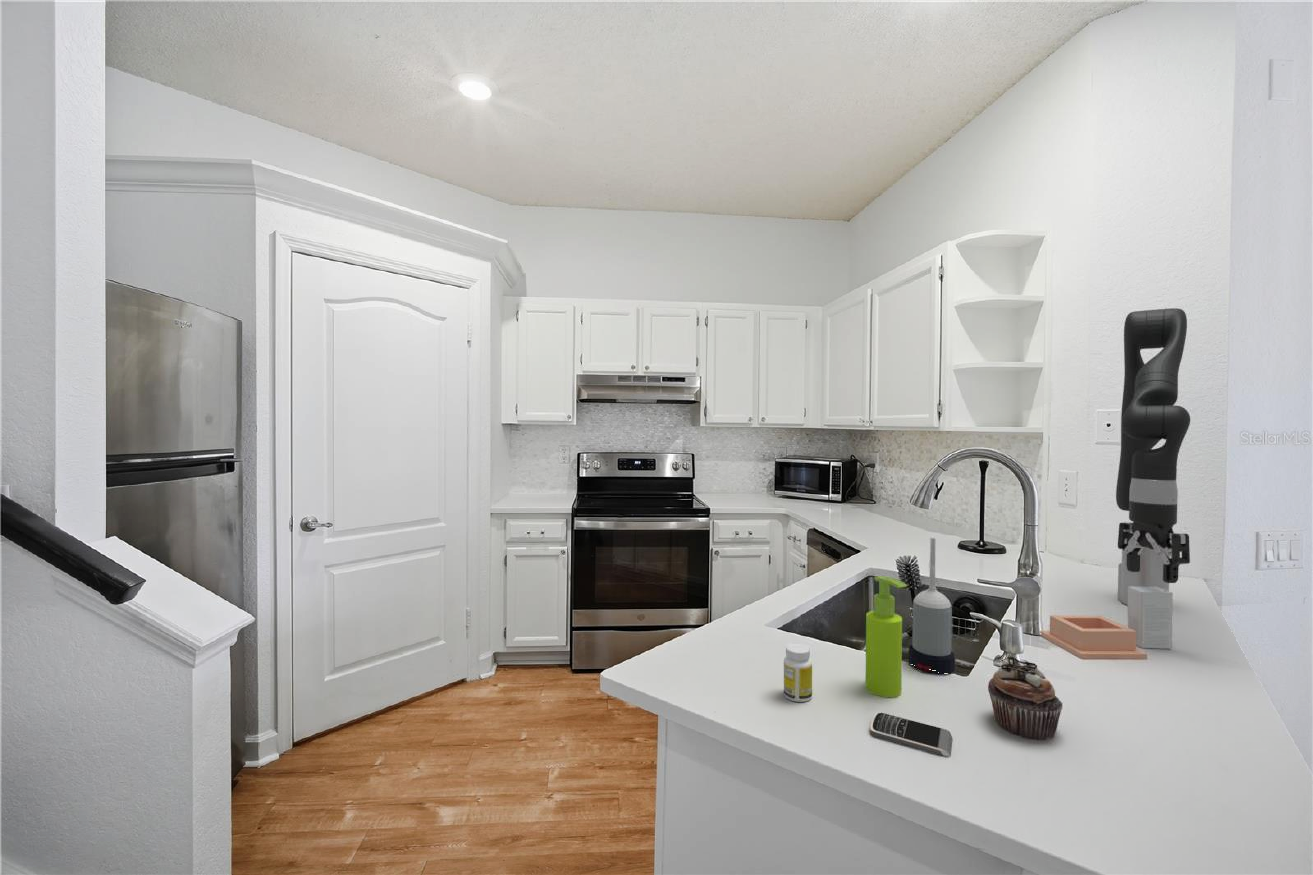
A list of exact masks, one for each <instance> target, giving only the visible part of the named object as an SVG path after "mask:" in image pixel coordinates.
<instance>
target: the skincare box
mask: <svg viewBox="0 0 1313 875" xmlns="http://www.w3.org/2000/svg"><path fill="white" fill-rule="evenodd" d="M1173 594H1174V593H1173V592H1171V591H1170V590H1169V591H1167V590H1164V589H1162V588H1159V587H1136V586H1128V605H1127V628H1130V629H1132V630H1134V631H1136V647H1139V648H1140V649H1159V650H1160V649H1161V650H1162V649H1165V650H1170V649H1171V650H1172V649H1173V604H1174V603H1173V601H1174V600H1173V596H1174V595H1173Z"/></svg>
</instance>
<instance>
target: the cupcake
mask: <svg viewBox="0 0 1313 875" xmlns="http://www.w3.org/2000/svg"><path fill="white" fill-rule="evenodd" d="M1021 664H1023V665H1021ZM987 691H988V695H989V697H990V700H991V705H992V709H993V716H994V719H995V722H996V724H997V725H998V726H999V727H1000V728H1001V729H1003V730H1004V731H1007V732H1008V733H1010V734H1012V735H1015V736H1019V737H1021V738H1025V739H1029V740H1033V741H1034V740H1037V741H1044V740H1046V741H1047V740H1049V739H1052V738H1054V737H1055V735H1056V731H1057V728H1058V726H1059V725H1058V724H1059V721H1060V720H1059V719H1060V717H1061V712H1062V709H1063V708H1064V707H1063V702H1062V701H1061V700H1060V699H1059V697H1057V696H1056V691H1055V688H1054V686H1053V684H1052V683H1051V681H1050V680H1048V679H1047V678H1046V677H1045V674H1044V672H1042V671H1041V670H1040V669H1039V668H1038V665H1037V664H1036V662H1035V663H1034V662H1028V661H1026V662H1025V661H1021V660H1018V659H1017V658H1015V657H1014V656H1008V657H1007V658H1006V659H1004V660H1002V664H1001V665H1000V666H999V667H998V669H997V670H996V671H995V672H994V674H993V675H992V678H991V679H990V680H989V681H988V685H987Z"/></svg>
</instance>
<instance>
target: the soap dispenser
mask: <svg viewBox="0 0 1313 875" xmlns="http://www.w3.org/2000/svg"><path fill="white" fill-rule="evenodd" d="M874 581H876V582H879V583H878V584H879V585H878V586H879V587H878V588H879V589H878V593H876V594H874V596H873V610H870V611H868V612H866V614H865V615H866V616H865V619H866V620H865V684H864V685H865V689H866V690H867V691H868V692H869V693H871V694H873V695H875V696H879V697H881V698H882V697H883V698H896V697H899V696H900V695H901V694H902V675H903V674H902V671H903V670H902V667H903V666H902V664H903V662H902V661H903V660H902V659H903V657H902V656H903V649H902V648H903V617H902V616H901V615H899V614H897V613H895V607H896V606H895V603H896V602H895V600H896V598H895V596H893V595H892V594H891V593H890V592H891V591H890V589H891V588H890V586H893V587H895V588H897V589H898V590H899V589H904V588H906V587H908V584H906V583H905V582H902V581H901V580H899V579H897V578H894V577H891V576H890V577H889V576H884V575H879V576H874Z"/></svg>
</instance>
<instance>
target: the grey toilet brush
mask: <svg viewBox="0 0 1313 875" xmlns="http://www.w3.org/2000/svg"><path fill="white" fill-rule="evenodd" d="M929 542H930V543H929V544H930V545H929V554H930V555H929V564H928V567H929V587H928V588H927V589H925V590H923V591H920V592H919V593H918V594H917V595H915V597H914V598H913V603H912V642H911V643H912V644H910V645H909V647H908V651H907V654H908V656H907V657H908V660H907V661H908V665H910V664H913V665H910V667H912V668H914V669H915V670H916V671H920V672H923V673H926V674H931V675H936V676H947V675H951V674H953V673H955V671H956V656H955V652H953V650H952V626H953V624H952V621H953V619H952V618H953V616H952V615H953V613H952V612H953V608H952V603H951V602H950V600H949V599H948V598H947V597H946V595H945V594H943V593H942V592H939V591H938V589H937V586H936V537H930V540H929ZM914 665H915V666H914ZM929 669H931V670H929ZM932 670H936V671H932ZM938 672H939V673H938ZM944 673H948V674H944Z"/></svg>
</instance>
